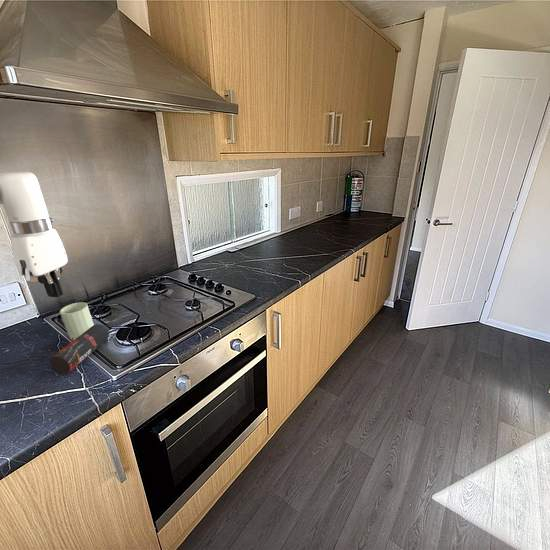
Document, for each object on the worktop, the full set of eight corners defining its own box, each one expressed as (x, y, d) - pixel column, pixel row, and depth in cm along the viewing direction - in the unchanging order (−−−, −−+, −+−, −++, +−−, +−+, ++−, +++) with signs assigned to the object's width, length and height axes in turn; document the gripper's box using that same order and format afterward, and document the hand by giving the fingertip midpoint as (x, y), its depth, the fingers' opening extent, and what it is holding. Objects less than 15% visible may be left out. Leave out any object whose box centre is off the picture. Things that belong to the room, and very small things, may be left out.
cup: (63, 338, 94) (53, 313, 90) (81, 326, 100) (72, 301, 97) (83, 340, 92) (74, 314, 89) (100, 327, 99) (92, 303, 95)
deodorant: (73, 365, 77) (111, 332, 90) (53, 352, 76) (94, 321, 90) (66, 377, 79) (105, 343, 93) (47, 365, 78) (88, 332, 92)
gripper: (47, 219, 77) (67, 283, 84) (-15, 234, 63) (16, 308, 71) (71, 220, 76) (90, 284, 83) (14, 235, 62) (42, 310, 69)
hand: (56, 295), depth 77 cm, fingers closed
